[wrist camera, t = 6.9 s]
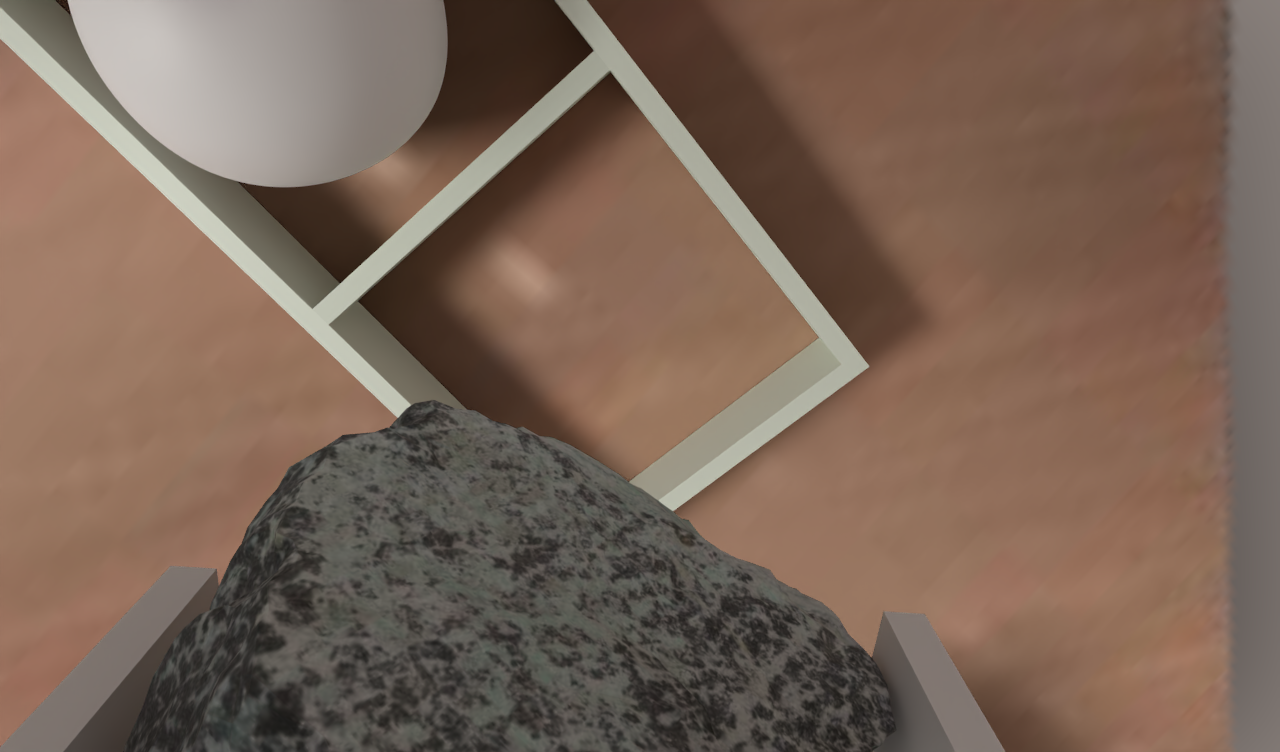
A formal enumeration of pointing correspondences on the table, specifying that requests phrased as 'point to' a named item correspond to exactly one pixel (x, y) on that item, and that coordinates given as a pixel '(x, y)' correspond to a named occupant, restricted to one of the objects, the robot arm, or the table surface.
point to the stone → (499, 617)
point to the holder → (330, 312)
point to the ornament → (271, 79)
